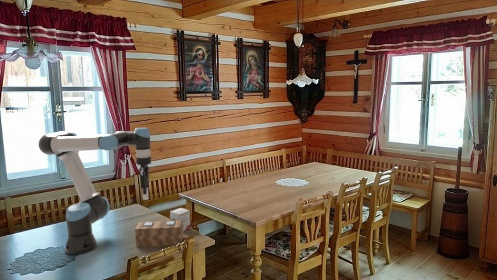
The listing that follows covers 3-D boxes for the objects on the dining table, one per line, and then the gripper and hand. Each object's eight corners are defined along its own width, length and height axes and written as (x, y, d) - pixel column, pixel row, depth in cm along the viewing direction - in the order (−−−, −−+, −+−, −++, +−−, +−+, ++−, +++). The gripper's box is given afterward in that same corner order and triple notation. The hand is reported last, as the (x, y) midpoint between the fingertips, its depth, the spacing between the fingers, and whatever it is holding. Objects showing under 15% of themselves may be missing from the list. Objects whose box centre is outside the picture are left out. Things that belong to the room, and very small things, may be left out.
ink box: (181, 225, 217) (180, 207, 215) (190, 228, 212) (190, 209, 210) (170, 229, 211) (169, 210, 209) (179, 233, 205) (178, 213, 203)
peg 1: (144, 241, 191) (143, 225, 190) (146, 238, 195) (145, 222, 194) (152, 241, 191) (151, 224, 190) (153, 238, 195) (152, 222, 194)
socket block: (136, 246, 188) (135, 228, 187) (140, 238, 198) (139, 222, 196) (181, 244, 190) (180, 227, 188) (183, 237, 199) (182, 220, 198)
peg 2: (167, 240, 192) (166, 224, 191) (168, 237, 196) (167, 221, 194) (174, 240, 192) (173, 224, 191) (175, 237, 196) (174, 221, 195)
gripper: (148, 158, 181) (150, 202, 184) (153, 154, 194) (155, 195, 197) (133, 159, 180) (135, 203, 184) (139, 154, 193) (141, 195, 196)
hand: (145, 199), depth 190 cm, fingers closed
